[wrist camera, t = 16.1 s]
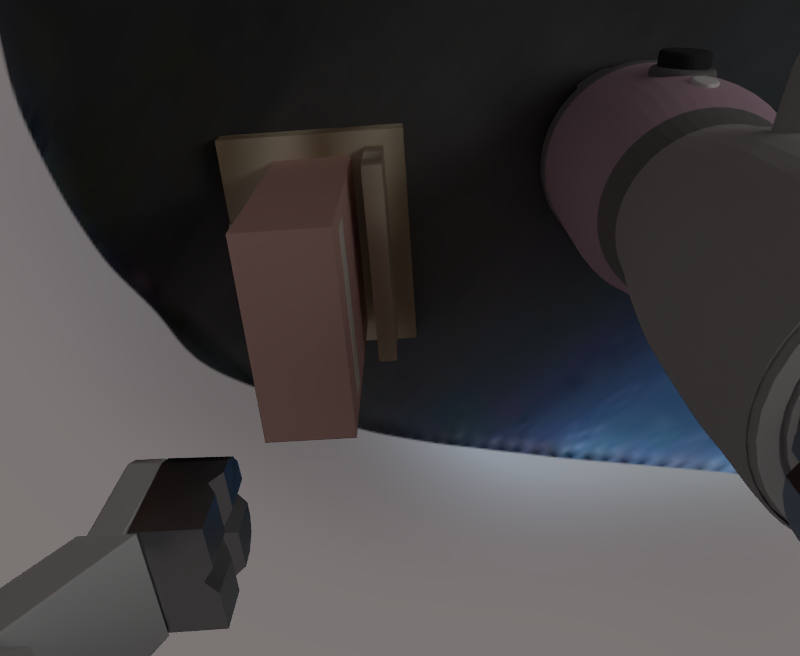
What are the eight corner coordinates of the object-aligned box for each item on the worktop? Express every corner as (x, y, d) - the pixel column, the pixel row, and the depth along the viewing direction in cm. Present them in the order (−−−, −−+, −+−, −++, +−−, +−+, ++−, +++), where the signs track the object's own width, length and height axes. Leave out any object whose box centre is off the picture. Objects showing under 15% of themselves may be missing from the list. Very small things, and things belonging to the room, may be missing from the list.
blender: (701, 245, 50) (1100, 619, 21) (528, 242, 50) (696, 613, 21) (756, -2, 43) (1471, 62, 14) (554, -6, 43) (862, 50, 14)
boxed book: (351, 155, 45) (332, 227, 33) (368, 322, 51) (357, 437, 38) (273, 161, 46) (224, 234, 33) (298, 326, 51) (264, 442, 39)
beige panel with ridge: (402, 123, 46) (402, 145, 40) (416, 328, 53) (418, 372, 47) (220, 136, 46) (193, 160, 41) (256, 337, 53) (239, 383, 47)
